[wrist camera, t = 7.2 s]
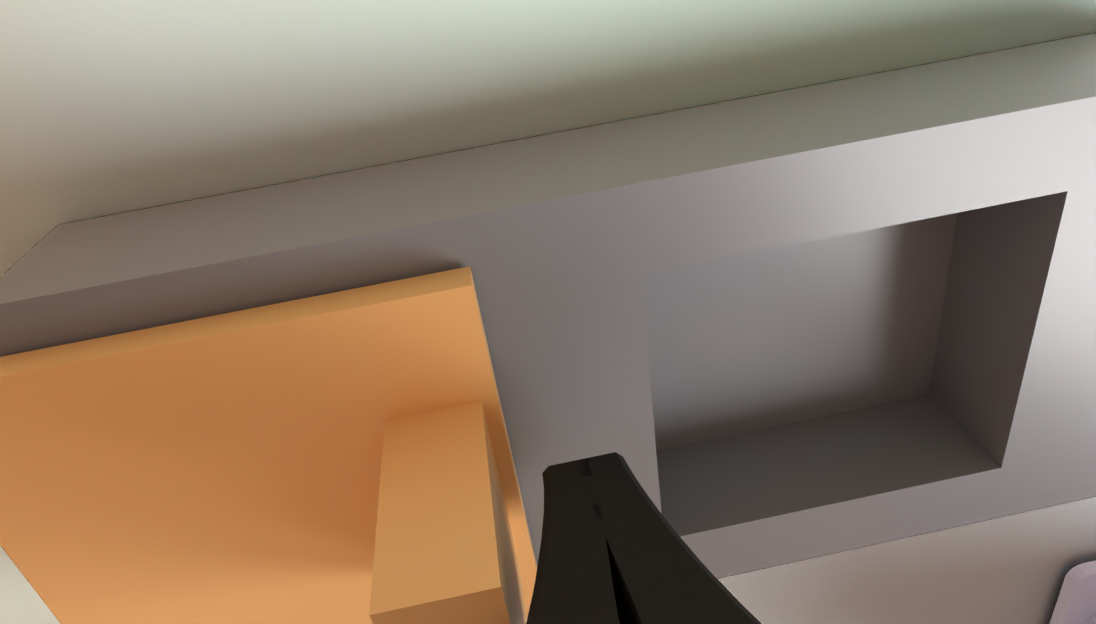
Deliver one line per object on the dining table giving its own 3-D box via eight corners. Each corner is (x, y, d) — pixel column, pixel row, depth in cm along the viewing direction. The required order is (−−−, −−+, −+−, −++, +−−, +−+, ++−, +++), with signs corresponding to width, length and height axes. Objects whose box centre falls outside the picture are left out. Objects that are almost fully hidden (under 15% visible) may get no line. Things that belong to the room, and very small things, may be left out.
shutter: (469, 266, 11) (490, 450, 7) (543, 595, 15) (580, 820, 11) (-86, 373, 10) (-347, 621, 7) (140, 682, 14) (46, 943, 11)
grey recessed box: (1143, 23, 14) (1307, 55, 11) (1043, 401, 18) (1144, 485, 16) (56, 224, 13) (-37, 311, 10) (242, 569, 17) (209, 689, 15)
